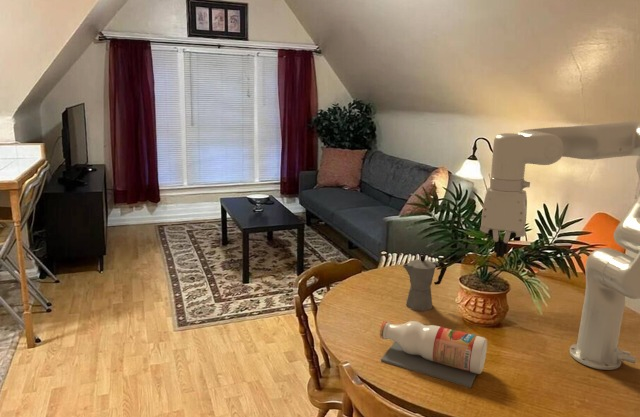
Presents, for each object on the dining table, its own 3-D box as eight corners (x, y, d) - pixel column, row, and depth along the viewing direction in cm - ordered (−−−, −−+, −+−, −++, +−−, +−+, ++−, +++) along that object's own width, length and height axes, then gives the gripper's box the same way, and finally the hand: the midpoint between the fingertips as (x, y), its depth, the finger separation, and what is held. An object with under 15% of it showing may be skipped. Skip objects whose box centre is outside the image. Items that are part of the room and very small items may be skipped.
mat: (483, 357, 135) (483, 356, 134) (470, 387, 121) (470, 385, 121) (401, 335, 146) (401, 333, 146) (380, 360, 132) (381, 358, 132)
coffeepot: (405, 312, 161) (408, 261, 156) (396, 300, 170) (399, 251, 165) (449, 310, 163) (453, 259, 159) (438, 298, 172) (442, 250, 168)
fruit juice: (482, 376, 128) (383, 348, 141) (489, 340, 131) (391, 316, 144) (478, 373, 120) (373, 343, 133) (485, 335, 123) (382, 310, 136)
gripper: (541, 184, 118) (533, 256, 123) (477, 179, 125) (472, 247, 129) (538, 190, 112) (530, 265, 116) (472, 185, 118) (466, 256, 123)
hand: (500, 255), depth 123 cm, fingers closed
